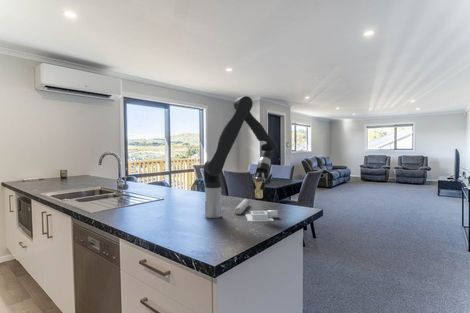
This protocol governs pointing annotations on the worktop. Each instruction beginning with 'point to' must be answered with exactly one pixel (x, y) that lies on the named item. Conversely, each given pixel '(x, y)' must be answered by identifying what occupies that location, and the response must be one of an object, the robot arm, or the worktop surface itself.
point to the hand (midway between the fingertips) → (257, 189)
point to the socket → (262, 216)
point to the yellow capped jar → (258, 187)
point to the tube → (242, 206)
